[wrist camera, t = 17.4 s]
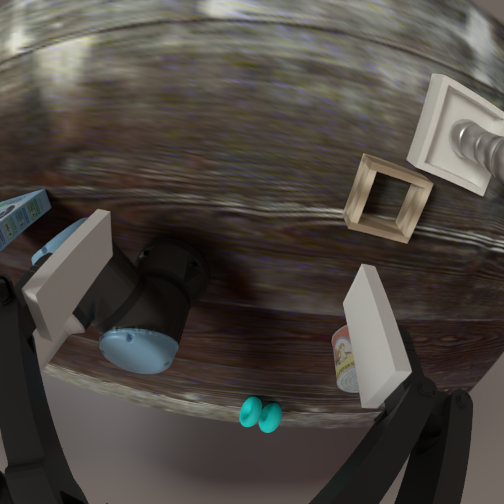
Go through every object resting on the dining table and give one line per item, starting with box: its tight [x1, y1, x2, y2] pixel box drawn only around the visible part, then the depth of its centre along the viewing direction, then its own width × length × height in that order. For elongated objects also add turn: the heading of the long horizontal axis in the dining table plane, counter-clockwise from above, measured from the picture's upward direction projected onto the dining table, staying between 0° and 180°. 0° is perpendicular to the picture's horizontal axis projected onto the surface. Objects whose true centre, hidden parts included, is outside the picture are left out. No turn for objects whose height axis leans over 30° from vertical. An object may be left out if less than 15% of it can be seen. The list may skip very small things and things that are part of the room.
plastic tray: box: [406, 74, 504, 196], centre depth 38 cm, size 16×16×4 cm
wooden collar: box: [343, 153, 433, 243], centre depth 46 cm, size 11×11×5 cm
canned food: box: [332, 325, 359, 393], centre depth 62 cm, size 11×11×12 cm
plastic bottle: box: [449, 119, 504, 185], centre depth 31 cm, size 6×7×20 cm
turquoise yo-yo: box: [240, 396, 282, 433], centre depth 82 cm, size 10×10×10 cm
